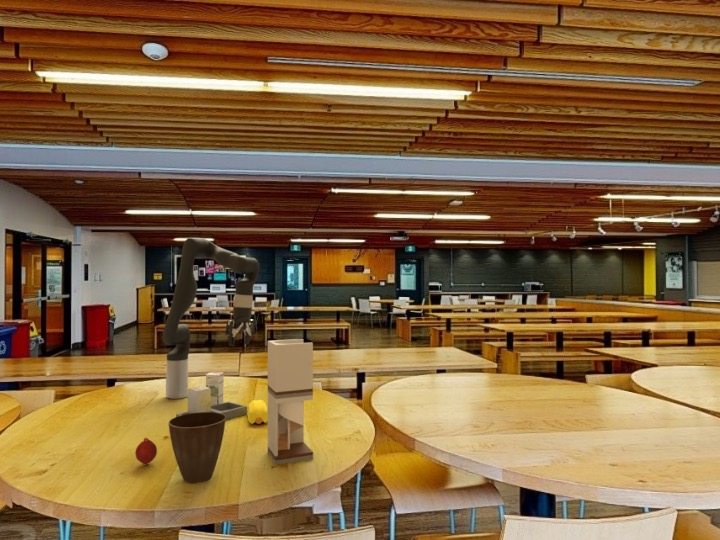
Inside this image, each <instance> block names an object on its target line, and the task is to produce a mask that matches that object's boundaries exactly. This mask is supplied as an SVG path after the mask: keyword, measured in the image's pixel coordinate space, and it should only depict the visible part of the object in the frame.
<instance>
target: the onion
mask: <svg viewBox="0 0 720 540" xmlns="http://www.w3.org/2000/svg"><path fill="white" fill-rule="evenodd" d="M157 453H158V449H157V445H156V444H155V443H154V442H153V441H152V440H151V439H149V438H148V437H144V438H143V440H142V441H141V442H140V443H138V445H137V446H136V449H135V453H134V454H135V458H136V459H137V461H138V462H140V463H142V464H143V465H144V464H147V465H149V464H150V463H152V462H153V460H154V459H155V458H156V456H157ZM148 463H149V464H148Z"/></svg>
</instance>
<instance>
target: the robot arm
mask: <svg viewBox="0 0 720 540" xmlns="http://www.w3.org/2000/svg"><path fill="white" fill-rule="evenodd" d="M195 259H197V260H204V259H210V260H214V261H215V262H216V264H219V266H222V267H224V268H227V269H229V270H231V271H232V272H234V273H236V274H239V275H244V276H243V278H242V279H239V280H237V281H236V284H235V293H234V297H233V306H232V317H233V319H232V320H231V319H230V320H229V319H227V320H226V325H225V326H226V327H225V333H224V334H225V336H228V346H229V347H235V341H236V337H235V336H236V335H237V334H238V333H239V332H242V331H243V333H244V334H245V335H244V338H243V340H244V341H243V344H244V345H250V341H251V336H252V335H254V334H255V329H256V328H255V327H256V320H255V319H251V318H252V311H253V302H254V301H253V298H254V297H253V295H254V285H255V283H256V281H257V277H258V275H259V272H260V264H259V263H260V262H259V261H258V260H257V259H256V258H255V257H246V256H241V255H240V254H238V253H236V252H233V251H230V250H228V249H225V248H222V247H220V246H217V245H216V244H214V243H213V242H212V241H210V240H208V239H206V238H202V237H201V238H200V237H188V238H187V239H185V241H184V242H183V246H182V250H181V258H180V266H179V271H178V277H177V280H176V285H175V288H174V292H173V296H172V297H173V298H172V302H171V305H170V310H169V313H168V315H167V319H166V322H165V324H164V327H163V330H162V341H163V343H164V344H165V345H166V346H175V347H174V349H172V350H171V351H169V352H167V354H166V376H165V397H166V399H169V398H170V399H171V400H176V399H177V400H178V399H183V398H184V399H185V398H188V389H189V355H190V346H191V345H190V344H191V331H190V328H189V326H188V325H187V324H186V323H180V322H181V319H182V318H183V316H184V315H185V313H187V311H188V310H189V309H190V307H191V306H192V305H193V304H194V302H195V300H196V297H197V291H198V283H197V280H196V278H195V275H194V269H193V268H194V263H195Z"/></svg>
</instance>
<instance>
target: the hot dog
mask: <svg viewBox="0 0 720 540" xmlns="http://www.w3.org/2000/svg"><path fill="white" fill-rule="evenodd" d="M247 421H248V422H249V423H250V425H254V424H257V425H261V424H262V423H263V424H266V423H268V404H267V403H266V402H265V401H264V400H263V399H258V400H257V399H256V400H255V399H252V400H251V401H250V402H249V403H248V406H247Z"/></svg>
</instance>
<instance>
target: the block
mask: <svg viewBox="0 0 720 540" xmlns="http://www.w3.org/2000/svg"><path fill="white" fill-rule="evenodd" d="M187 412H188V414H190V413H198V412H211V388H208V387H206V386H203V385H200V386H195V387H191V388H189V387H188V396H187Z"/></svg>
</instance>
